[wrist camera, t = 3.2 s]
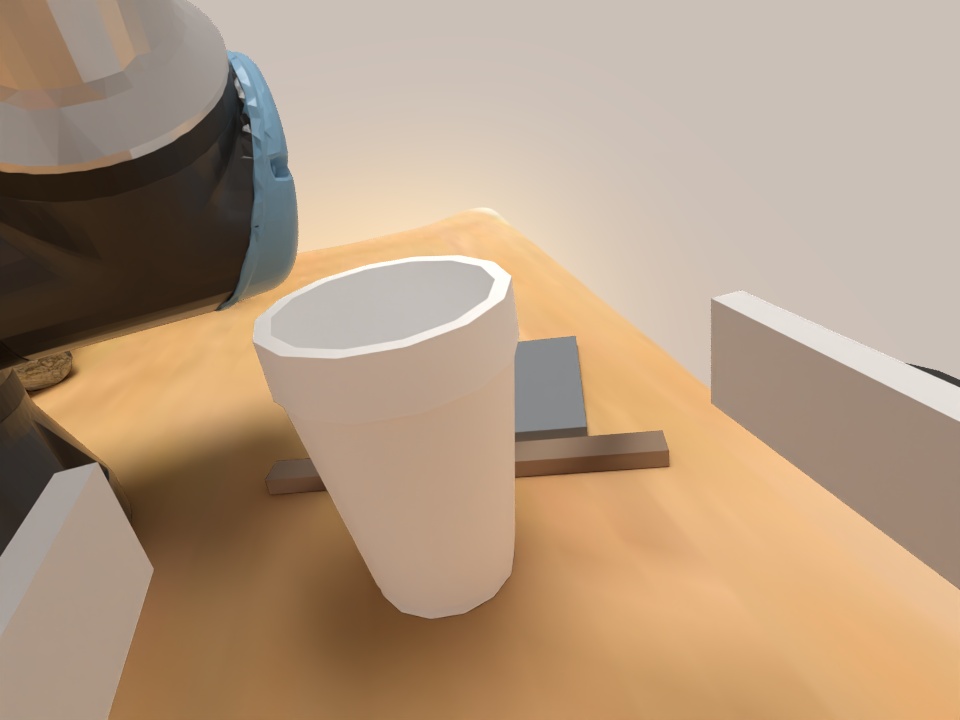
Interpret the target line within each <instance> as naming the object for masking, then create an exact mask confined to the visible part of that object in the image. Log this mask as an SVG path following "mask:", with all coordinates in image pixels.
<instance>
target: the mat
mask: <svg viewBox="0 0 960 720" xmlns="http://www.w3.org/2000/svg"><path fill="white" fill-rule="evenodd" d="M514 380H515V442H522V441H535V440H547V439H560V438H573V437H585V436H587V426H586V418H585V409H584V401H583V393H582V385H581V376H580V368H579V360H578V351H577V343H576V336H570V337H561V338H551V339H541V340H532V341H522V342H518V343H517V347H516V352H515V356H514Z"/></svg>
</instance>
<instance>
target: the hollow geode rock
mask: <svg viewBox="0 0 960 720" xmlns="http://www.w3.org/2000/svg"><path fill="white" fill-rule="evenodd" d="M12 367H13V369H14V371H15V372H16V374H17V376H18V378H19V379H20V381H21V383H22V385H23V386H24V388H25V389H26V390H30V391H33V390H37V389H43V388H46V387H49V386H52V385H54V384H57V383H58V382H60V381H61V380H62V379H63V378H64V377H65V376H66V375H67V374H68V373H69V371H70V369H71V368H72V355H71V353H70V352H69V351H66V352H62V353H58V354H55V355H51V356H47V357H44V358H40V359H36V360H34V361H29V362H26V363H23V364H19V365H16V366H12Z"/></svg>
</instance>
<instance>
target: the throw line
mask: <svg viewBox="0 0 960 720" xmlns="http://www.w3.org/2000/svg"><path fill="white" fill-rule="evenodd" d="M664 466H669V450H668V446H667V443H666V440H665V437H664V434H663V430H661V431H649V432H636V433H623V434H611V435H598V436H585V437H573V438H560V439H547V440H535V441H522V442H515V477H522V476H536V475H551V474H565V473H579V472H593V471H607V470H621V469H636V468H650V467H664ZM265 482H266V485H267V487H268V490H269V492H270V494H282V493H296V492H310V491H324V490H327V489H326V487H325V485H324V483H323V481H322V479H321V477H320V475H319V474H318V472H317V470H316V468H315V466H314V464H313V462H312V460H311V458H307V459H294V460H282V461H277V462H276V463H275V465H274V466H273V468H272V470H271V471H270V473H269V474H268V476H267V478H266V479H265Z"/></svg>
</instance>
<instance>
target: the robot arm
mask: <svg viewBox="0 0 960 720" xmlns="http://www.w3.org/2000/svg"><path fill="white" fill-rule="evenodd" d="M287 163H288V151H287V146H286V140H285V136H284V132H283V128H282V124H281V121H280V117H279V114H278V111H277V108H276V105H275V103H274V100H273V97H272V94H271V92H270V90H269V88H268V85H267V83H266V81H265V79H264V77H263V75H262V73H261V71H260V70H259V68H258V67H257V65H256V64H255V63H254V62H253V61H252V60H251V59H250V58H249V57H248V56H246V55H244V54H242V53H239V52H231V51H228V50H226V48H225V44H224V41H223V38H222V36H221V34H220V32H219V30H218V29H217V27H216V26H215V25H214V24H213V22H212V21H211V20H210V19H209V18H208V16H206V15H205V14H204V13H203V12H202V11H201V10H200V9H199V8H197V7H196V6H194V5H193V4H191V3H190V2H188V1H187V0H0V720H108V716H109V713H110V710H111V707H112V704H113V700H114V697H115V694H116V691H117V687H118V684H119V681H120V678H121V674H122V671H123V668H124V665H125V662H126V658H127V655H128V652H129V649H130V645H131V642H132V639H133V636H134V632H135V629H136V626H137V623H138V619H139V616H140V613H141V610H142V607H143V603H144V600H145V597H146V594H147V590H148V587H149V584H150V581H151V577H152V574H153V571H154V569H153V567H152V565H151V563H150V561H149V559H148V557H147V555H146V553H145V551H144V550H143V548H142V546H141V544H140V542H139V540H138V538H137V536H136V534H135V532H134V531H133V529H132V527H131V525H130V522H131V507H130V503H129V501H128V499H127V497H126V495H125V493H124V491H123V489H122V488H121V486H120V484H119V482H118V480H117V478H116V476H115V475H114V473H113V472H112V471H111V469H110V468H109V467H108V466H107V465H106V464H105V463H104V462H103V461H101V460H100V459H99V458H98V457H97V456H95V455H94V454H93V453H92V452H91V451H90V450H88V449H87V448H86V447H85V446H84V445H83V444H81V443H80V442H79V441H78V440H77V439H75V438H74V437H73V436H72V435H71V434H70V433H68V432H67V431H66V430H65V429H64V428H63V427H61V426H60V425H59V424H58V423H57V422H55V421H54V420H53V419H52V418H51V417H50V416H48V415H47V414H46V413H45V412H44V411H43V410H41V409H40V408H39V407H38V406H37V405H36V404H35V403H34V402H33V401H32V400H31V398H30V397H29V395H28V393H27V392H26V390H25V388H24V386H23V385H22V383H21V381H20V379H19V378H18V376H17V374H16V372H15V371H14V369H13V367H12V366H16V365H19V364H23V363H26V362H29V361H34V360H36V359H40V358H44V357H47V356H51V355H55V354H58V353H62V352H66V351H69V350H73V349H77V348H80V347H84V346H88V345H91V344H95V343H99V342H102V341H106V340H110V339H113V338H117V337H121V336H125V335H128V334H132V333H136V332H139V331H143V330H147V329H150V328H154V327H158V326H161V325H165V324H169V323H172V322H176V321H180V320H183V319H187V318H191V317H194V316H198V315H202V314H205V313H209V312H213V311H222V310H225V309H228V308H230V307H231V306H233V305H234V304H235V303H236V302H238V301H241V300H244V299H246V298H249V297H252V296H255V295H258V294H261V293H264V292H267V291H269V290H272V289H274V288H276V287H277V286H279V285H280V284H281V283H282V282H283V281H284V280H285V279H286V278H287V277H288V275H289V274H290V272H291V270H292V268H293V265H294V262H295V259H296V254H297V246H298V214H297V201H296V193H295V186H294V181H293V177H292V175H291V173H290V171H289V169H288V167H287ZM711 403H712V404H713V405H715V406H716V407H717V408H719V409H720V410H721V411H723V412H724V413H725V414H727V415H728V416H729V417H731V418H732V419H733V420H734V421H736V422H737V423H738V424H740V425H741V426H742V427H744V428H745V429H746V430H748V431H749V432H750V433H752V434H753V435H754V436H756V437H757V438H758V439H760V440H761V441H762V442H764V443H765V444H766V445H768V446H769V447H770V448H772V449H773V450H774V451H776V452H777V453H778V454H780V455H781V456H782V457H784V458H785V459H786V460H788V461H789V462H790V463H792V464H793V465H794V466H796V467H797V468H798V469H800V470H801V471H802V472H804V473H805V474H806V475H808V476H809V477H810V478H812V479H813V480H814V481H816V482H817V483H818V484H820V485H821V486H822V487H824V488H825V489H826V490H828V491H829V492H830V493H832V494H833V495H834V496H836V497H837V498H838V499H840V500H841V501H842V502H844V503H845V504H846V505H848V506H849V507H850V508H852V509H853V510H854V511H856V512H857V513H858V514H860V515H861V516H862V517H864V518H865V519H866V520H868V521H869V522H870V523H872V524H873V525H874V526H876V527H877V528H878V529H880V530H881V531H882V532H884V533H885V534H886V535H888V536H889V537H890V538H892V539H893V540H894V541H896V542H897V543H898V544H899V545H901V546H902V547H903V548H905V549H906V550H907V551H909V552H910V553H911V554H913V555H914V556H915V557H917V558H918V559H919V560H921V561H922V562H923V563H925V564H926V565H927V566H929V567H930V568H931V569H933V570H934V571H935V572H937V573H938V574H939V575H941V576H942V577H943V578H945V579H946V580H947V581H949V582H950V583H951V584H953V585H954V586H955V587H957V588H958V589H959V590H960V380H958V379H956V378H954V377H952V376H950V375H947V374H945V373H943V372H940V371H937V370H933V369H929V368H924V367H920V366H916V365H912V364H907V363H903V362H901V361H899V360H897V359H894V358H892V357H890V356H888V355H885V354H883V353H881V352H879V351H876V350H874V349H872V348H870V347H867V346H865V345H863V344H861V343H858V342H856V341H854V340H852V339H849V338H847V337H845V336H843V335H840V334H838V333H836V332H834V331H831V330H829V329H827V328H825V327H822V326H820V325H818V324H816V323H813V322H811V321H809V320H807V319H804V318H802V317H800V316H798V315H795V314H793V313H791V312H789V311H786V310H784V309H782V308H780V307H777V306H775V305H773V304H771V303H768V302H766V301H764V300H761V299H759V298H757V297H755V296H752V295H750V294H748V293H746V292H744V291H741V290H740V291H737V292H733V293H730V294H726V295H722V296H719V297H714V298H711Z"/></svg>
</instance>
